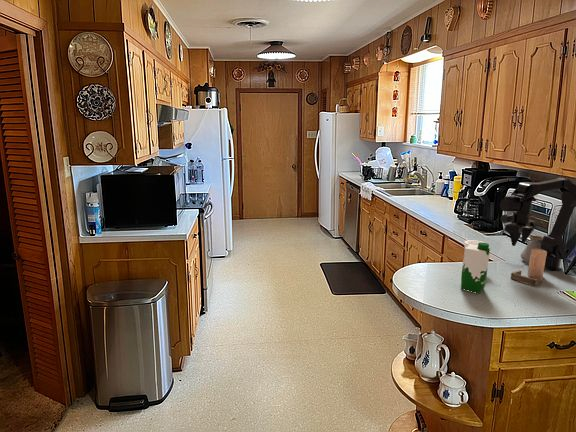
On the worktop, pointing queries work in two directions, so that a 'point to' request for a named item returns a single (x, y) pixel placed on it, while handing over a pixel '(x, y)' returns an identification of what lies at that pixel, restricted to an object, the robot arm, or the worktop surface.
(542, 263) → the jug
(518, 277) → the jug cradle
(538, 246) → the coffee pot
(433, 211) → the worktop surface
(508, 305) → the worktop surface
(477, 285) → the milk carton
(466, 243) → the foam cup
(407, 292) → the worktop surface
